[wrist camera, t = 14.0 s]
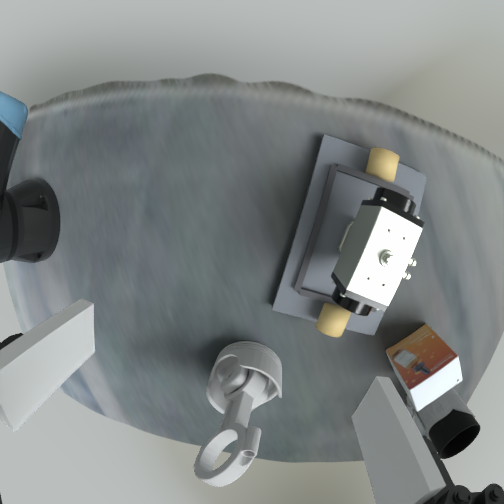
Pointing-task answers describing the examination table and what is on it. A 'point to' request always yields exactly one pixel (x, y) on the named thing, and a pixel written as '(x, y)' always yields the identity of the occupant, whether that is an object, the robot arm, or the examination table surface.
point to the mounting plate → (337, 230)
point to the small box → (424, 366)
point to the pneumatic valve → (376, 252)
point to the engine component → (238, 407)
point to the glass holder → (448, 423)
